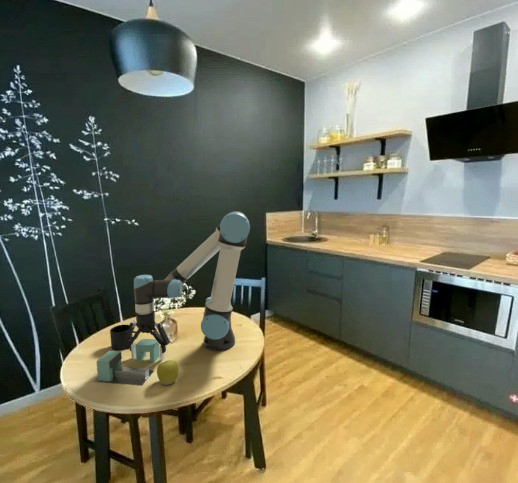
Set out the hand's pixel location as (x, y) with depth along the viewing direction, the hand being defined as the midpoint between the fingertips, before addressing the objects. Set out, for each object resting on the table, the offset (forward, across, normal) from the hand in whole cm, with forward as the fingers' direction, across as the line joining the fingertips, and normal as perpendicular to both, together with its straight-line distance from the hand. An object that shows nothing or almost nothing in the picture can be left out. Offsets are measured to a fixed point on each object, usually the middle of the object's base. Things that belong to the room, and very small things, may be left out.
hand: (148, 358), depth 135 cm
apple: (+1, -16, +14) cm, 21 cm away
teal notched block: (0, +9, +14) cm, 16 cm away
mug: (+1, +17, -10) cm, 20 cm away
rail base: (0, +3, +14) cm, 14 cm away
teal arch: (0, 0, 0) cm, 0 cm away
